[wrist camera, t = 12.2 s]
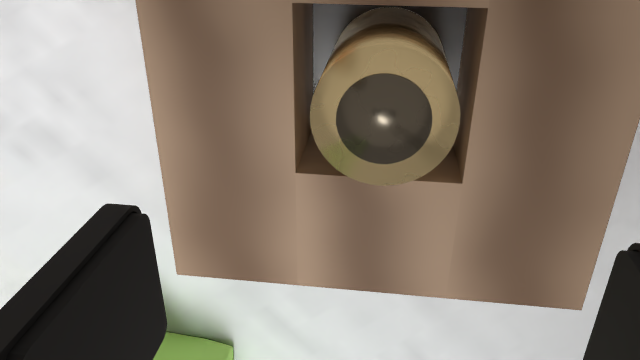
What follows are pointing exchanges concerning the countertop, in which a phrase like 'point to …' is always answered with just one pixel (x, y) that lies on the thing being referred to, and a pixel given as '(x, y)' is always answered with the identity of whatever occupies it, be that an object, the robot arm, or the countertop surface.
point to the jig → (408, 198)
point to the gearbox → (192, 349)
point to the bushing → (386, 99)
